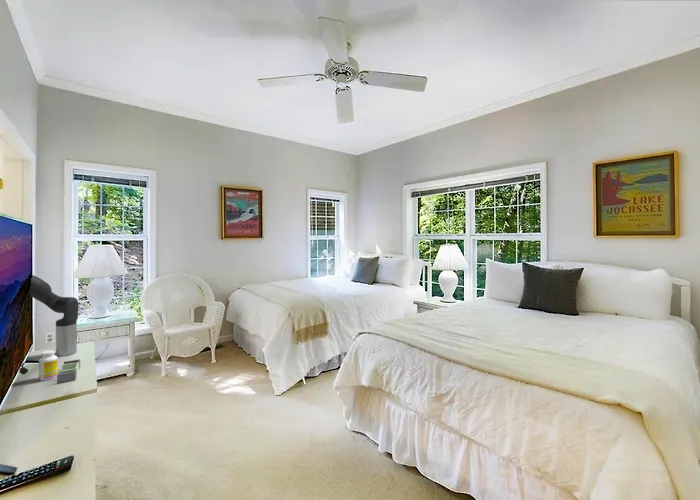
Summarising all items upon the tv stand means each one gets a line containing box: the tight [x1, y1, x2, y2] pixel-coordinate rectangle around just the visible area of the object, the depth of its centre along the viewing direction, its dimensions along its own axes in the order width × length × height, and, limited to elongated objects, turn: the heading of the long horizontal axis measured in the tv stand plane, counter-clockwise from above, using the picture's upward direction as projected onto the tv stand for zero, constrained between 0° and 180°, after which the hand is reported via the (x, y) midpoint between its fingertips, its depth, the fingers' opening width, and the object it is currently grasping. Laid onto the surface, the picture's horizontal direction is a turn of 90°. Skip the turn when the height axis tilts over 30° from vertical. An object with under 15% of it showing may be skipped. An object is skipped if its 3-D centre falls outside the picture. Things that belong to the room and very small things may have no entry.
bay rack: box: [56, 359, 81, 384], centre depth 163 cm, size 20×6×4 cm, turn 34°
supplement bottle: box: [38, 349, 59, 381], centre depth 159 cm, size 7×7×13 cm
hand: (26, 372), depth 155 cm, fingers closed
